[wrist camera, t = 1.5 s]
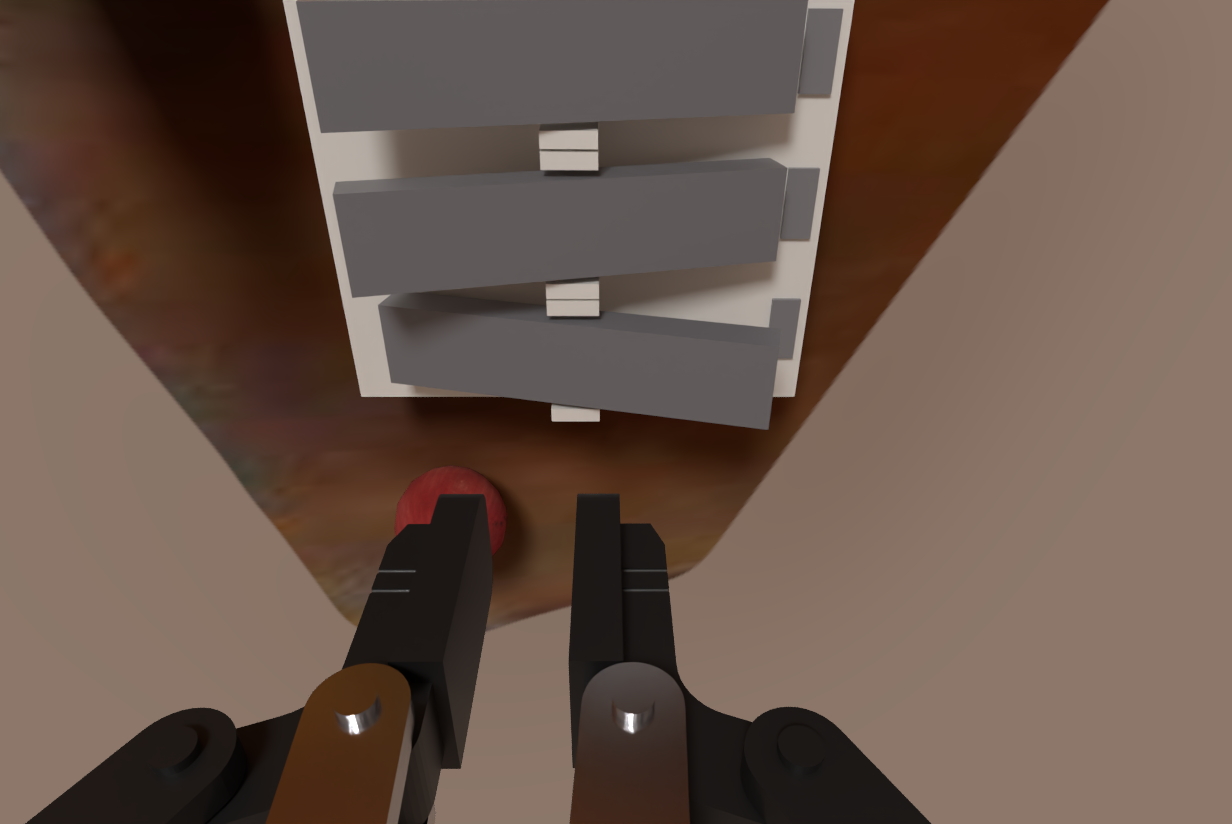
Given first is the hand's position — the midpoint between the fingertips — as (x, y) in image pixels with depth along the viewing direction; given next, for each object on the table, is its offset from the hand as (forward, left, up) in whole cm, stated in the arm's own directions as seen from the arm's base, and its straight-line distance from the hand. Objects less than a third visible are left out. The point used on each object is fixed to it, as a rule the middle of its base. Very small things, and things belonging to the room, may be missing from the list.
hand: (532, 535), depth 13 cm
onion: (+18, -7, -25) cm, 31 cm away
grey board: (+6, 0, -17) cm, 18 cm away
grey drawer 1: (-5, 0, -17) cm, 18 cm away
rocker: (0, 0, -17) cm, 17 cm away
